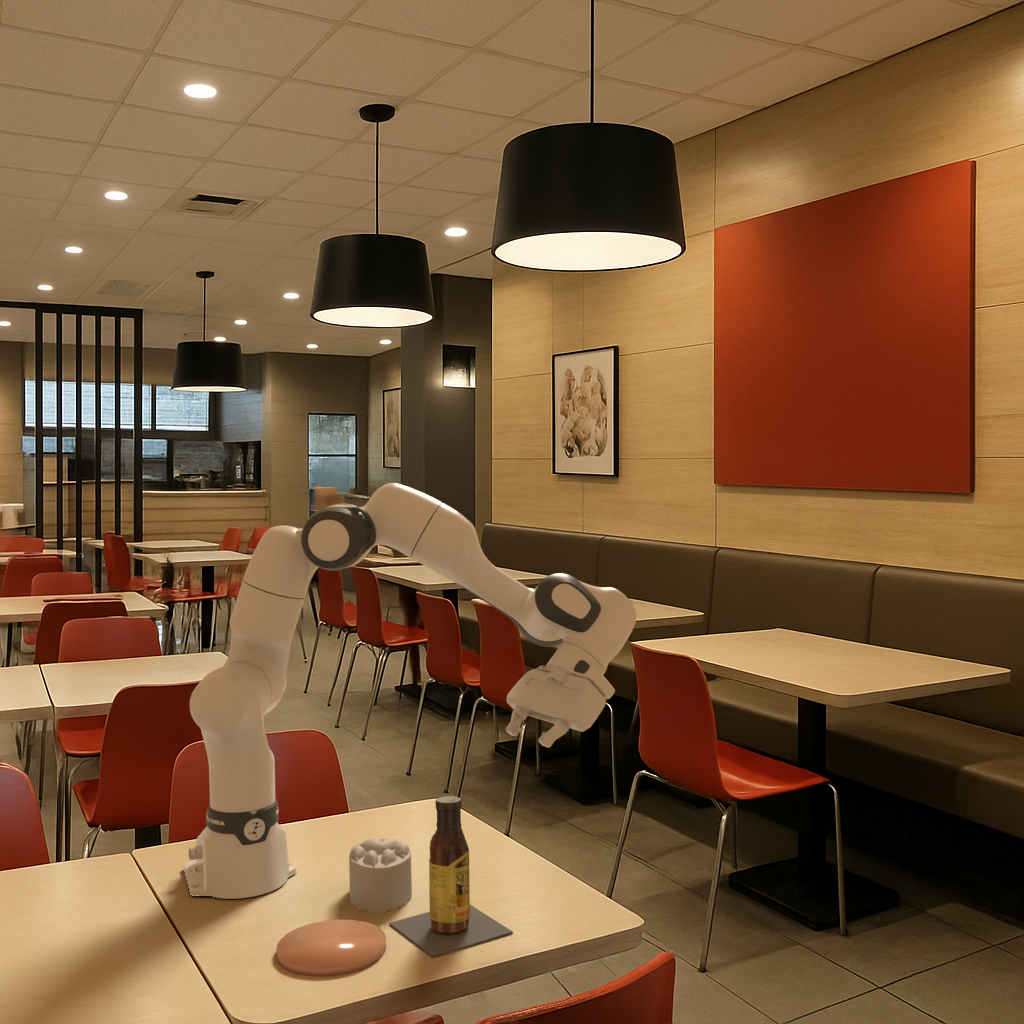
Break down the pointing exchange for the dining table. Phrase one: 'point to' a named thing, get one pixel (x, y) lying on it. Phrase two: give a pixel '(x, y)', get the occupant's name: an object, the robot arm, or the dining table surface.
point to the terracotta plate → (331, 947)
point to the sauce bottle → (449, 870)
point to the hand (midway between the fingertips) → (526, 739)
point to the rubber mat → (440, 943)
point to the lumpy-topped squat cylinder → (380, 874)
